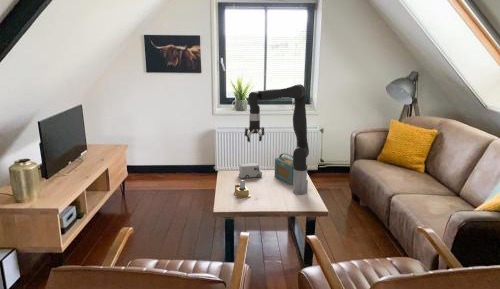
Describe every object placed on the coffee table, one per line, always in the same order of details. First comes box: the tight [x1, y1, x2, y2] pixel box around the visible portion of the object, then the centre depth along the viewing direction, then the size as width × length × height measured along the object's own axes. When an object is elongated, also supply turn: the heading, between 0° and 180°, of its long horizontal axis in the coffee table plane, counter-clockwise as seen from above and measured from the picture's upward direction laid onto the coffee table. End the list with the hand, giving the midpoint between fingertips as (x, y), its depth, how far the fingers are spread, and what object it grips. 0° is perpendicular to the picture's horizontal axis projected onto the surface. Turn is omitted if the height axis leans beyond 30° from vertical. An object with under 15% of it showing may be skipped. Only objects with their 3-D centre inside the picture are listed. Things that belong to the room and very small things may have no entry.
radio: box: [274, 152, 294, 186], centre depth 285 cm, size 26×11×20 cm, turn 27°
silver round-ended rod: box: [239, 179, 246, 190], centre depth 251 cm, size 3×3×10 cm
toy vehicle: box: [238, 162, 263, 179], centre depth 292 cm, size 9×18×10 cm, turn 104°
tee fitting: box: [233, 183, 252, 200], centre depth 254 cm, size 9×13×5 cm
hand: (254, 141), depth 266 cm, fingers open, 8 cm apart
